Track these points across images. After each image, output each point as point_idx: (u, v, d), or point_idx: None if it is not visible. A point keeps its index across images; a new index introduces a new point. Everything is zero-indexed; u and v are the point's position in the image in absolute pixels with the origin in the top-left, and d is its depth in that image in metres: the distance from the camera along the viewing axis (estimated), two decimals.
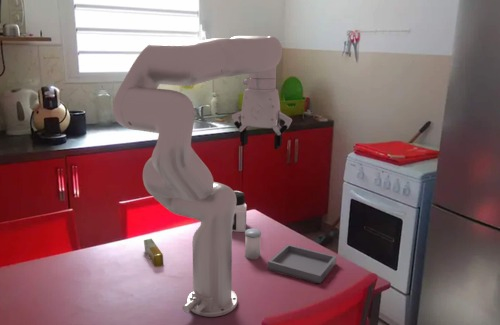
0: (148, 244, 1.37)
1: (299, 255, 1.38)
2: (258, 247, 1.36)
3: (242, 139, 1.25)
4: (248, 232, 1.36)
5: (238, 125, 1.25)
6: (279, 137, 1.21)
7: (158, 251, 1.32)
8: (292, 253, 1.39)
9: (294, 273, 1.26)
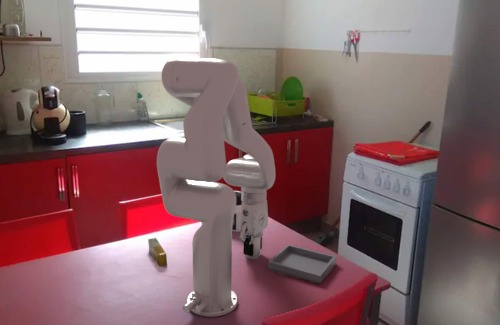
0: (152, 243, 1.37)
1: (299, 255, 1.38)
2: (258, 247, 1.36)
3: (253, 250, 1.35)
4: (248, 232, 1.36)
5: (248, 240, 1.33)
6: (260, 238, 1.40)
7: (162, 250, 1.33)
8: (292, 253, 1.39)
9: (294, 273, 1.26)
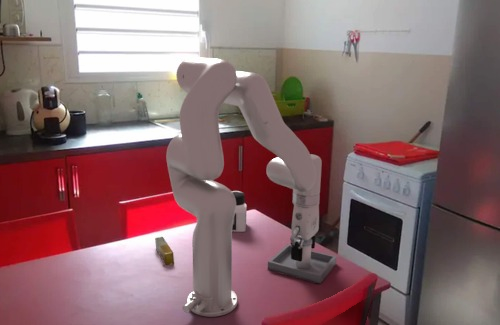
0: (159, 242, 1.38)
1: None
2: (309, 256, 1.30)
3: (301, 255, 1.26)
4: (298, 240, 1.30)
5: (297, 244, 1.24)
6: None
7: (169, 249, 1.34)
8: None
9: (294, 273, 1.26)
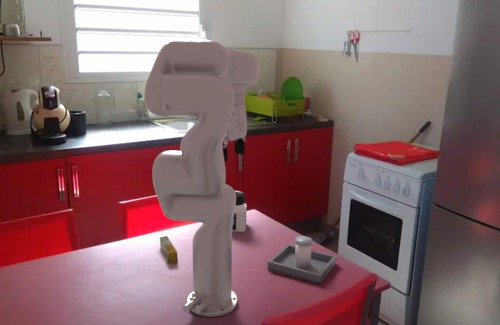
0: (163, 241, 1.39)
1: None
2: (309, 256, 1.30)
3: (227, 154, 1.29)
4: (299, 239, 1.30)
5: (222, 142, 1.27)
6: None
7: (173, 248, 1.34)
8: (292, 253, 1.39)
9: (294, 273, 1.26)
